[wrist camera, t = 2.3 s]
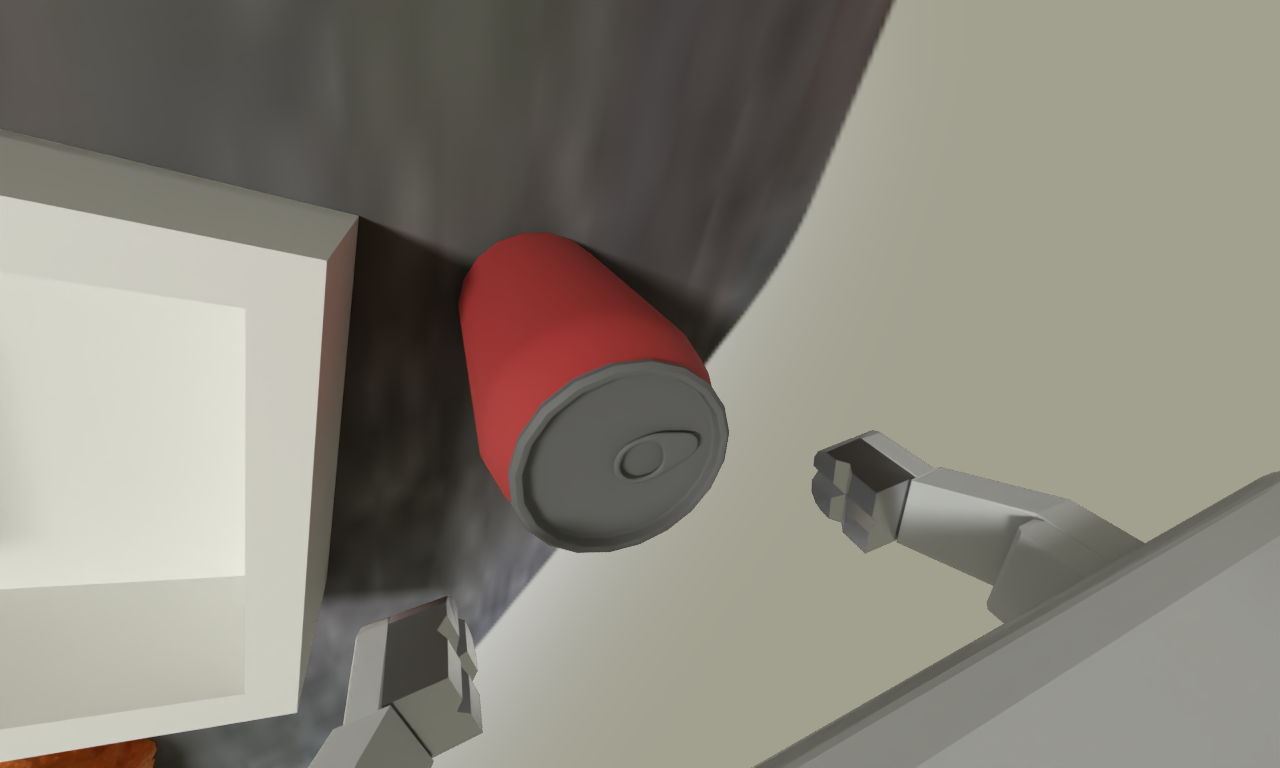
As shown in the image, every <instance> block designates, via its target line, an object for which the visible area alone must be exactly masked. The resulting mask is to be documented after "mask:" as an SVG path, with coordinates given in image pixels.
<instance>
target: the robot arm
mask: <svg viewBox="0 0 1280 768" xmlns="http://www.w3.org/2000/svg"><path fill="white" fill-rule="evenodd" d="M814 466H815V467H816V469H817V470H818V472H817V473H816V475H815V477H814V478H813V480H812V494H813V496H814V499H815V502H816V504H817V505H818V507H819V508H820V509H821V511H822V512H823V513H824V514H825V515H826V516H827V517H828V518H829V519H832V520H835V521H838V522H841V523H842V529H843V533H844V534H845V535H846V536H848V538H849V539H850V540H851V541H853V542H854V543H855V544H856V545H857V546H858V547H859V548H860V549H861V550H862V551H863V552H864V553H867V552H870V551H872V550H875V549H877V548H879V547H882V546H884V545H886V544H888V543H891V542H893V541H895V540H897V543H899V544H902V545H904V546H906V547H908V548H911V549H913V550H915V551H917V552H919V553H922V554H924V555H926V556H928V557H931V558H933V559H935V560H937V561H939V562H942V563H944V564H946V565H948V566H951V567H953V568H955V569H957V570H960V571H962V572H964V573H966V574H968V575H971V576H973V577H975V578H977V579H980V580H982V581H984V582H986V583H988V584H991V585H993V586H994V587H993V589H992V591H991V594H990V596H989V598H988V601H987V607H988V610H989V611H990V612H992V613H993V614H994V615H995V616H996V617H997V618H998V619H999V620H1001V621H1002V622H1003V623H1004V624H1003V625H1001V626H999V627H998V628H996V629H994V630H992V631H991V632H989V633H987V634H985V635H984V636H982V637H980V638H978V639H977V640H975V641H973V642H971V643H970V644H968V645H966V646H964V647H963V648H961V649H959V650H957V651H956V652H954V653H952V654H951V655H949V656H947V657H945V658H943V659H942V660H940V661H938V662H936V663H934V664H933V665H931V666H929V667H927V668H926V669H924V670H922V671H920V672H919V673H917V674H915V675H913V676H912V677H910V678H908V679H906V680H905V681H903V682H901V683H899V684H898V685H896V686H894V687H892V688H891V689H889V690H887V691H885V692H884V693H882V694H880V695H878V696H877V697H875V698H873V699H871V700H870V701H868V702H866V703H864V704H863V705H861V706H859V707H857V708H856V709H854V710H852V711H850V712H849V713H847V714H845V715H843V716H842V717H840V718H838V719H836V720H835V721H833V722H831V723H829V724H828V725H826V726H824V727H822V728H821V729H819V730H817V731H815V732H814V733H812V734H810V735H808V736H806V737H805V738H803V739H801V740H800V741H798V742H796V743H794V744H792V745H791V746H789V747H787V748H786V749H784V750H782V751H780V752H778V753H777V754H775V755H773V756H772V757H770V758H768V759H766V760H764V761H763V762H761V763H759V764H757V765H756V766H754V767H752V768H1280V471H1278V472H1273V473H1270V474H1268V475H1265V476H1263V477H1261V478H1259V479H1257V480H1255V481H1254V482H1252V483H1250V484H1248V485H1247V486H1245V487H1243V488H1242V489H1240V490H1238V491H1236V492H1234V493H1233V494H1231V495H1229V496H1227V497H1226V498H1224V499H1222V500H1220V501H1219V502H1217V503H1215V504H1213V505H1212V506H1210V507H1208V508H1206V509H1205V510H1203V511H1201V512H1199V513H1198V514H1196V515H1194V516H1193V517H1191V518H1189V519H1187V520H1185V521H1183V522H1182V523H1180V524H1178V525H1176V526H1175V527H1173V528H1171V529H1169V530H1168V531H1166V532H1164V533H1162V534H1161V535H1159V536H1157V537H1155V538H1154V539H1152V540H1150V541H1148V542H1147V543H1143V542H1142V541H1140V540H1138V539H1137V538H1135V537H1133V536H1131V535H1130V534H1128V533H1126V532H1125V531H1123V530H1121V529H1120V528H1118V527H1116V526H1114V525H1113V524H1111V523H1109V522H1107V521H1106V520H1104V519H1102V518H1101V517H1099V516H1097V515H1096V514H1094V513H1092V512H1090V511H1089V510H1087V509H1085V508H1084V507H1082V506H1080V505H1078V504H1077V503H1075V502H1073V501H1071V500H1069V499H1066V498H1062V497H1057V496H1054V495H1050V494H1046V493H1042V492H1038V491H1033V490H1029V489H1026V488H1022V487H1018V486H1014V485H1010V484H1005V483H1001V482H998V481H993V480H990V479H985V478H981V477H977V476H974V475H970V474H965V473H961V472H958V471H954V470H950V469H945V468H942V467H940V468H937V469H934V468H932V467H931V466H930V465H928V464H927V463H925V462H924V461H922V460H920V459H919V458H918V457H916V456H915V455H913V454H912V453H910V452H909V451H907V450H906V449H904V448H903V447H901V446H900V445H898V444H897V443H895V442H894V441H892V440H891V439H889V438H888V437H886V436H885V435H883V434H882V433H880V432H877V431H874V430H872V431H869V432H867V433H864V434H862V435H859V436H856V437H854V438H851V439H848V440H846V441H843V442H841V443H838V444H836V445H833V446H831V447H828V448H826V449H823V450H821V451H819V452H818V453H817V454H816V456H815V458H814ZM477 671H478V670H477V661H476V653H475V648H474V644H473V639H472V636H471V633H470V630H469V628H468V626H467V624H466V622H465V620H462V619H459V618H458V609H457V605H456V603H455V601H454V600H453V598H452V596H451V595H450V596H445V597H443V598H440V599H437V600H434V601H432V602H429V603H426V604H423V605H421V606H418V607H415V608H412V609H409V610H407V611H404V612H401V613H398V614H396V615H393V616H391V617H388V618H386V619H383V620H380V621H377V622H375V623H372V624H369V625H367V626H364V627H361V629H360V631H359V633H358V635H357V637H356V642H355V649H354V655H353V662H352V669H351V675H350V682H349V689H348V695H347V702H346V709H345V716H344V722H343V725H342V726H340V727H338V728H335V729H333V731H332V732H331V734H330V735H329V737H328V738H327V740H326V741H325V743H324V744H323V746H322V747H321V749H320V750H319V752H318V753H317V755H316V756H315V758H314V759H313V761H312V762H311V764H310V766H309V767H308V768H431V766H432V764H433V759H432V758H433V757H435V756H437V755H439V754H441V753H443V752H445V751H447V750H449V749H451V748H453V747H455V746H457V745H459V744H461V743H463V742H465V741H467V740H469V739H471V738H473V737H475V736H477V735H479V734H481V733H483V731H482V718H481V707H480V706H481V705H480V695H479V693H478V691H477V689H476V687H475V685H474V684H473V682H472V681H473V679H474V677H475V675H476V673H477Z"/></svg>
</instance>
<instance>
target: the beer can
mask: <svg viewBox="0 0 1280 768" xmlns="http://www.w3.org/2000/svg"><path fill="white" fill-rule="evenodd" d="M458 307H459V314H460V322H461V329H462V336H463V342H464V349H465V356H466V362H467V369H468V376H469V383H470V389H471V396H472V403H473V409H474V416H475V423H476V430H477V436H478V443H479V450H480V456H481V458H482V459H483V461H484V463H485V464H486V466H487V468H488V469H489V471H490V473H491V474H492V476H493V478H494V479H495V481H496V483H497V484H498V486H499V488H500V489H501V491H502V493H503V494H504V496H505V497H506V498H507V499H508V500H509V501H510V502H511V504H512V506H513V508H514V510H515V511H516V513H517V515H518V516H519V518H520V520H521V521H522V523H523V525H524V526H525V528H526V529H527V530H528V531H529V532H531V533H532V534H534V535H535V536H537V537H538V538H539V539H541V540H542V541H544V542H545V543H547V544H548V545H550V546H554V547H558V548H562V549H566V550H569V551H573V552H577V553H581V552H582V553H583V552H611V551H615V550H619V549H623V548H626V547H630V546H634V545H638V544H641V543H643V542H645V541H646V540H649V539H651V538H653V537H655V536H657V535H658V534H661V533H663V532H664V531H666V530H668V529H669V528H670V527H672V526H673V525H674V524H675V523H677V522H678V521H679V520H681V519H682V518H683V517H684V516H686V515H687V514H688V513H689V512H691V511H692V510H693V508H694V507H695V506H696V505H697V504H698V502H699V501H700V500H701V499H702V498H703V496H704V495H705V494H706V493H707V492H708V490H709V489H710V488H711V486H712V484H713V482H714V480H715V478H716V476H717V474H718V472H719V470H720V468H721V466H722V464H723V462H724V459H725V453H726V447H727V442H728V436H729V429H728V424H727V419H726V413H725V408H724V405H723V404H722V402H721V401H720V399H719V398H718V396H717V394H716V393H715V391H714V390H713V388H712V386H711V382H710V378H709V374H708V372H707V370H706V368H705V366H704V364H703V362H702V361H701V359H700V357H699V356H698V354H697V353H696V351H695V349H694V348H693V346H692V345H691V343H690V342H689V340H688V339H687V337H686V335H685V334H684V333H683V332H682V331H681V330H679V329H678V328H677V327H676V326H675V325H674V324H672V323H671V322H670V321H669V320H668V319H667V318H665V317H664V316H663V315H662V314H661V313H660V312H658V311H657V310H656V309H655V308H654V307H653V306H651V305H650V304H649V303H648V302H647V301H646V300H644V299H643V298H642V297H641V296H640V295H639V294H637V293H636V292H635V291H634V290H633V289H632V288H630V287H629V286H628V285H627V284H626V283H624V282H623V281H622V280H621V279H620V278H619V277H617V276H616V275H615V274H614V273H613V272H612V271H610V270H609V269H608V268H607V267H606V266H605V265H603V264H602V263H601V262H600V261H599V260H598V259H596V258H595V257H594V256H593V255H592V254H590V253H589V252H588V251H586V250H585V249H584V248H582V247H581V246H579V245H578V244H577V243H575V242H574V241H573V240H570V239H567V238H564V237H560V236H557V235H554V234H551V233H522V234H519V235H516V236H513V237H510V238H508V239H505V240H502V241H499V242H497V243H496V244H494V245H493V246H492V247H491V248H489V249H488V250H487V251H486V252H484V253H483V254H482V255H481V256H479V257H478V258H477V259H476V261H475V262H474V264H473V266H472V267H471V269H470V270H469V272H468V274H467V275H466V277H465V278H464V280H463V284H462V289H461V293H460V298H459V302H458Z"/></svg>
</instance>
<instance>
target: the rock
mask: <svg viewBox="0 0 1280 768" xmlns="http://www.w3.org/2000/svg"><path fill="white" fill-rule="evenodd" d="M156 751H157V747H156V743H155V742H154V741H151V740H149V739H144V738H142V739H136V740H130V741H124V742H118V743H113V744H107V745H101V746H95V747H89V748H83V749H77V750H71V751H65V752H59V753H53V754H47V755H41V756H35V757H29V758H23V759H17V760H11V761H5V762H0V768H153V764H154V761H155V758H153V756H154V755H155V753H156Z"/></svg>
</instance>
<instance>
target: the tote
mask: <svg viewBox="0 0 1280 768" xmlns="http://www.w3.org/2000/svg"><path fill="white" fill-rule="evenodd" d="M358 221H359V216H357V215H353V214H349V213H345V212H341V211H337V210H333V209H329V208H324V207H320V206H316V205H312V204H308V203H304V202H300V201H296V200H292V199H288V198H283V197H279V196H275V195H271V194H267V193H263V192H259V191H255V190H251V189H246V188H242V187H238V186H234V185H230V184H226V183H222V182H218V181H214V180H209V179H205V178H201V177H197V176H193V175H189V174H185V173H181V172H177V171H172V170H168V169H164V168H160V167H156V166H152V165H148V164H144V163H140V162H135V161H131V160H127V159H123V158H119V157H115V156H111V155H107V154H103V153H98V152H94V151H90V150H86V149H82V148H78V147H74V146H70V145H66V144H62V143H57V142H53V141H49V140H45V139H41V138H37V137H33V136H29V135H25V134H20V133H16V132H12V131H8V130H4V129H0V762H5V761H11V760H17V759H23V758H29V757H35V756H41V755H47V754H53V753H59V752H65V751H71V750H77V749H83V748H89V747H95V746H101V745H107V744H113V743H118V742H124V741H130V740H136V739H142V738H148V737H154V736H160V735H166V734H172V733H178V732H184V731H190V730H196V729H202V728H208V727H214V726H220V725H226V724H232V723H238V722H244V721H250V720H256V719H262V718H268V717H274V716H280V715H286V714H292V713H297V710H298V706H299V702H300V697H301V693H302V688H303V684H304V679H305V675H306V670H307V666H308V661H309V657H310V652H311V648H312V643H313V639H314V634H315V630H316V625H317V621H318V616H319V612H320V608H321V603H322V599H323V594H324V590H325V585H326V581H327V572H328V560H329V549H330V538H331V526H332V515H333V504H334V493H335V481H336V470H337V459H338V447H339V436H340V425H341V413H342V402H343V391H344V380H345V368H346V357H347V346H348V334H349V323H350V312H351V300H352V289H353V278H354V267H355V255H356V244H357V233H358Z"/></svg>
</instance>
